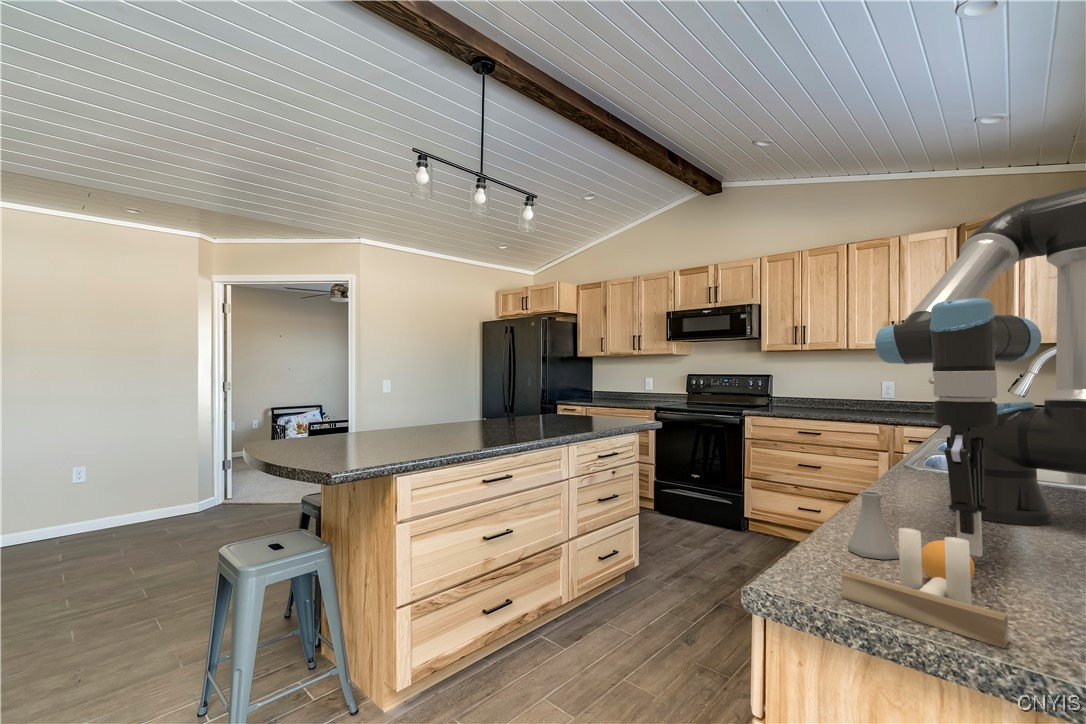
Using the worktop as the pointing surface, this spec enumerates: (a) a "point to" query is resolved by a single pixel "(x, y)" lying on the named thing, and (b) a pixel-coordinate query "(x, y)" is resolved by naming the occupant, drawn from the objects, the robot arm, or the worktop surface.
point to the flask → (872, 530)
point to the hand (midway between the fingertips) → (970, 553)
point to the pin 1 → (910, 558)
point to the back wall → (927, 608)
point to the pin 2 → (958, 569)
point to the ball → (937, 560)
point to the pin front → (935, 587)
